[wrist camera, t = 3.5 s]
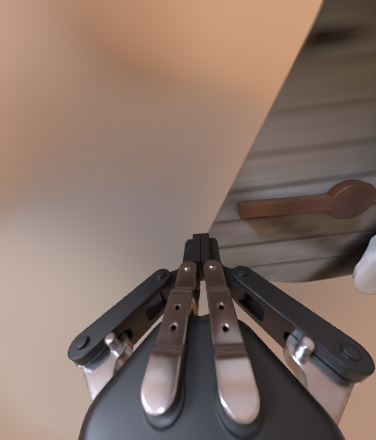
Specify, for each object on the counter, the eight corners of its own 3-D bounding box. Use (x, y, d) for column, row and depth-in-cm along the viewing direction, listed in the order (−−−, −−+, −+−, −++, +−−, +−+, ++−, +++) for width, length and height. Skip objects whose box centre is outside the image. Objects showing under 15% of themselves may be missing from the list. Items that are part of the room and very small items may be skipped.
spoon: (237, 222, 20) (239, 228, 19) (238, 191, 18) (241, 195, 17) (356, 213, 18) (367, 218, 17) (373, 177, 16) (387, 180, 15)
